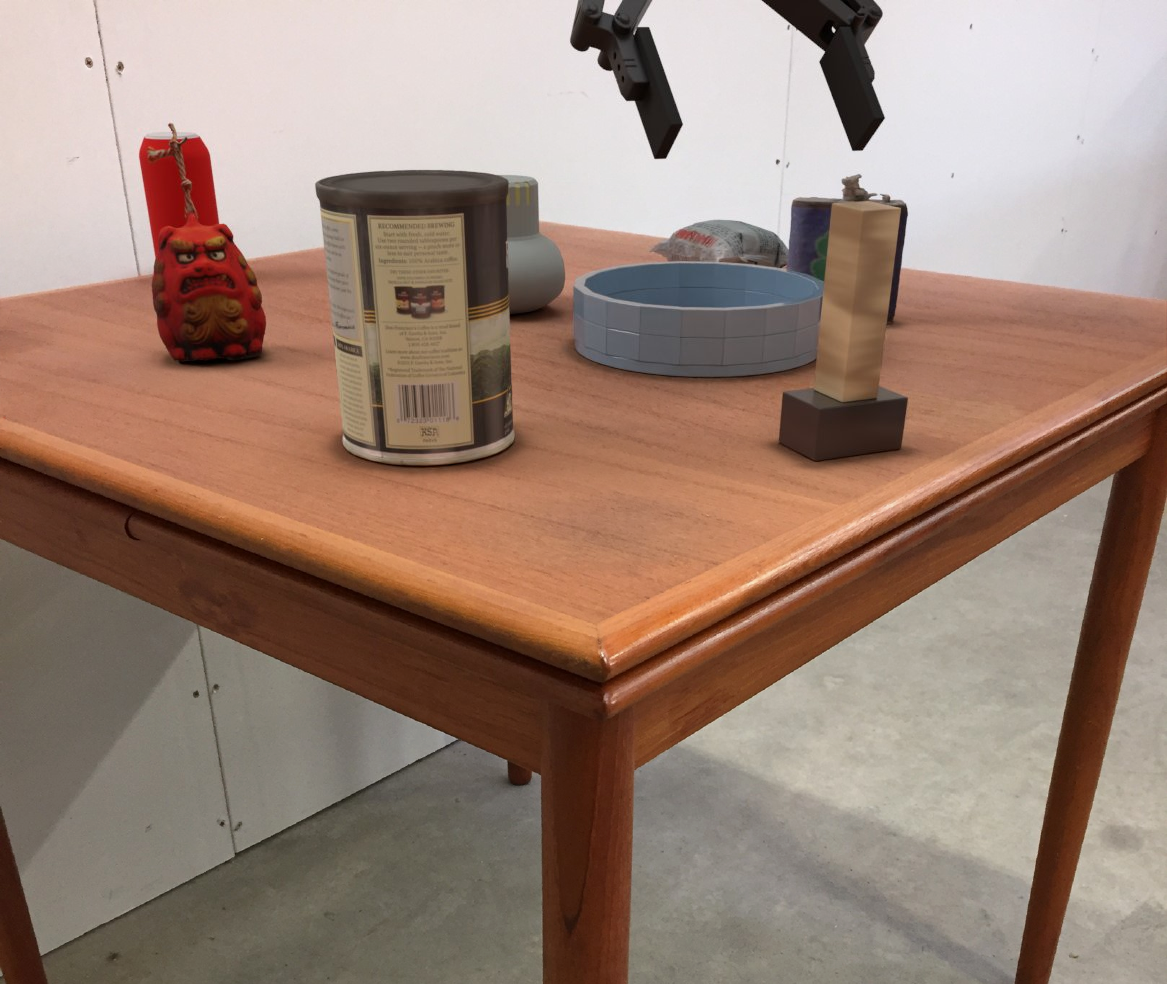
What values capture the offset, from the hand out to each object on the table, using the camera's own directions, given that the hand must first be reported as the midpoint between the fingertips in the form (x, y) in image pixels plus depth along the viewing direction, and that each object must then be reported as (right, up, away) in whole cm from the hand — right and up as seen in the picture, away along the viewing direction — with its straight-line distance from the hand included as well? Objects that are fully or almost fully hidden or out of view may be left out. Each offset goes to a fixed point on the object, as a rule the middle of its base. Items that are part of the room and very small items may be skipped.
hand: (772, 139), depth 74 cm
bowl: (-2, -5, +22) cm, 22 cm away
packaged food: (+2, +10, +45) cm, 46 cm away
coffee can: (-20, -18, +1) cm, 27 cm away
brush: (+4, -18, 0) cm, 18 cm away
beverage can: (-48, +9, +45) cm, 66 cm away
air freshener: (-18, +2, +33) cm, 38 cm away
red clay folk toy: (-38, -7, +19) cm, 43 cm away
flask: (+10, 0, +30) cm, 32 cm away
